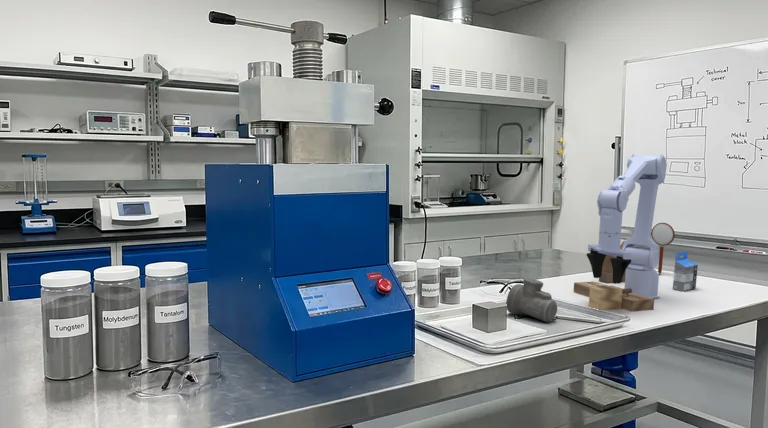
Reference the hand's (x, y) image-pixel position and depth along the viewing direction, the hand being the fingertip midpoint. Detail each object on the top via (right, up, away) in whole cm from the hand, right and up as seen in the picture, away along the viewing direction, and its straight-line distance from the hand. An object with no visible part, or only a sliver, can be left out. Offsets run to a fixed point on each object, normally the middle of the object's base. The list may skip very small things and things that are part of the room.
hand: (606, 280), depth 158 cm
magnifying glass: (+41, -5, +53) cm, 68 cm away
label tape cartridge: (+38, -7, +30) cm, 48 cm away
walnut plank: (+6, -7, +10) cm, 14 cm away
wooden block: (+18, -5, +39) cm, 43 cm away
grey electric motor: (-24, -9, -12) cm, 28 cm away
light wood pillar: (+2, -8, +2) cm, 8 cm away
